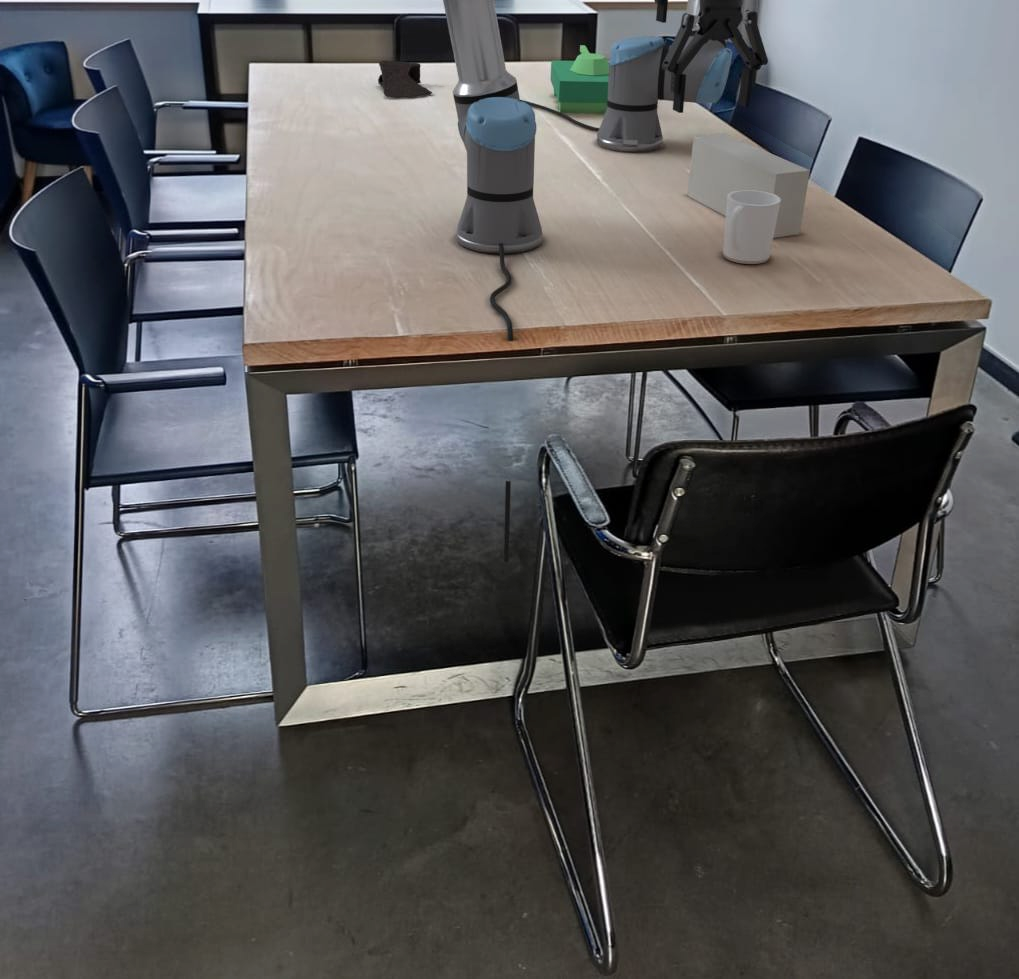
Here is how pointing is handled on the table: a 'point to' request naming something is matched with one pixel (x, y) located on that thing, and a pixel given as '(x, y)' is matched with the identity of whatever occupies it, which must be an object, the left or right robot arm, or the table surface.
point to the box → (746, 178)
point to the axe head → (401, 79)
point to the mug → (750, 226)
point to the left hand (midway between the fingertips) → (711, 108)
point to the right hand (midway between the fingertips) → (690, 20)
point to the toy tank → (581, 83)
